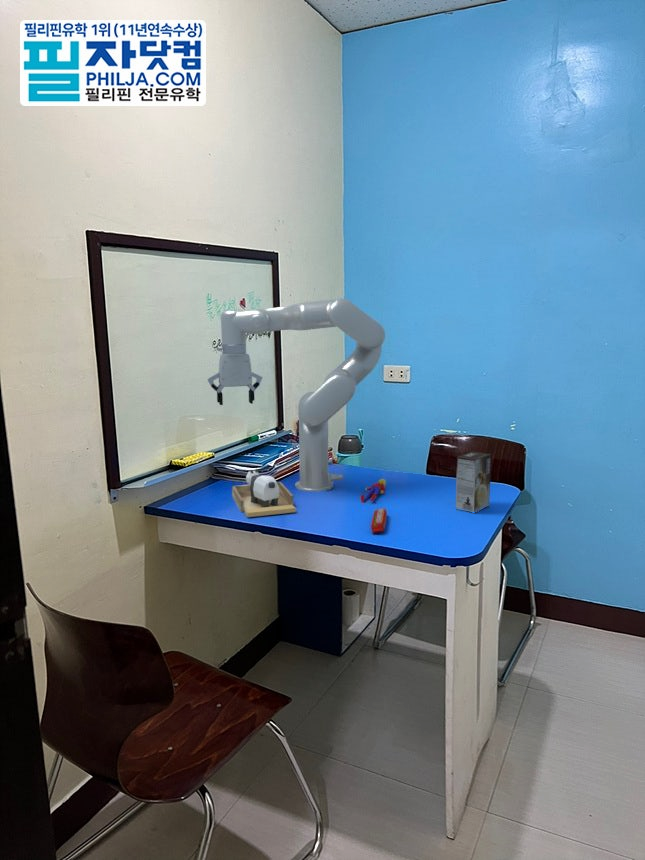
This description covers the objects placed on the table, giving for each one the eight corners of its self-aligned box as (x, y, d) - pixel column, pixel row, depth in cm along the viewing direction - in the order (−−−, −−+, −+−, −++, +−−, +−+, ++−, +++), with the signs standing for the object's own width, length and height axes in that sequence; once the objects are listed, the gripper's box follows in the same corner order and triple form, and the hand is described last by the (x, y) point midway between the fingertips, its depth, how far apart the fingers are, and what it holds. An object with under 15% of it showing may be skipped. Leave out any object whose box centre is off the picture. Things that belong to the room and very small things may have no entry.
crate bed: (280, 493, 202) (280, 481, 201) (293, 508, 187) (293, 495, 186) (232, 498, 197) (231, 486, 196) (241, 513, 182) (240, 500, 182)
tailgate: (291, 504, 185) (295, 507, 181) (292, 508, 185) (296, 512, 181) (244, 509, 181) (247, 513, 177) (244, 513, 181) (247, 517, 177)
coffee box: (470, 502, 191) (472, 450, 188) (489, 506, 187) (492, 454, 184) (454, 509, 185) (456, 456, 182) (474, 514, 180) (476, 459, 177)
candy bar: (374, 515, 181) (374, 505, 180) (387, 516, 180) (387, 506, 180) (370, 535, 165) (370, 524, 165) (384, 536, 165) (384, 525, 164)
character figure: (360, 487, 191) (377, 471, 210) (356, 500, 193) (373, 483, 211) (377, 495, 190) (393, 477, 208) (373, 507, 191) (389, 489, 210)
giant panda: (281, 505, 188) (280, 474, 186) (265, 509, 184) (264, 478, 183) (255, 494, 199) (255, 465, 197) (240, 497, 196) (239, 468, 194)
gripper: (208, 351, 192) (210, 407, 196) (263, 350, 198) (265, 404, 201) (205, 350, 200) (207, 403, 203) (258, 348, 205) (260, 400, 208)
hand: (236, 403), depth 202 cm, fingers open, 9 cm apart
